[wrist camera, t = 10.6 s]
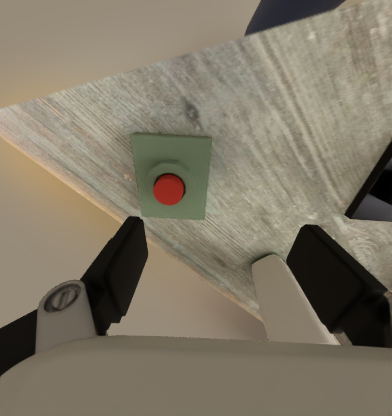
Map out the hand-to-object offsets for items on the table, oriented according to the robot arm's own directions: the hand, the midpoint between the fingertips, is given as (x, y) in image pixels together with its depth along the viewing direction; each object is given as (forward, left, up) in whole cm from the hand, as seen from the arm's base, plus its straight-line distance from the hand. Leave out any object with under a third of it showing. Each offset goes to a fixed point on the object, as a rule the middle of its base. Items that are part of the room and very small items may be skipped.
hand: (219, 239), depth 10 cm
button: (+3, -5, -12) cm, 13 cm away
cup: (+17, +17, -16) cm, 29 cm away
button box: (+3, -5, -16) cm, 16 cm away
